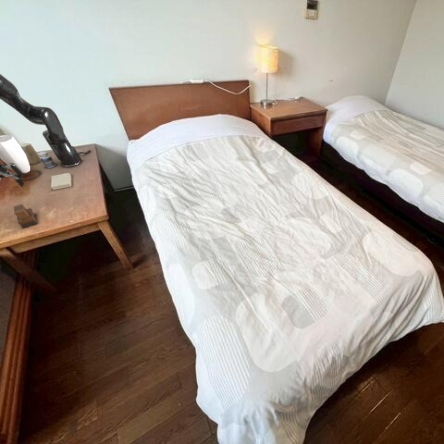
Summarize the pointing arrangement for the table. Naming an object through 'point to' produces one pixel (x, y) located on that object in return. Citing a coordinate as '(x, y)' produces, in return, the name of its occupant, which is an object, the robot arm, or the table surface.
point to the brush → (24, 215)
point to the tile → (61, 181)
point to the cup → (13, 153)
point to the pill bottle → (46, 159)
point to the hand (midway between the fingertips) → (9, 189)
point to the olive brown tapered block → (30, 153)
